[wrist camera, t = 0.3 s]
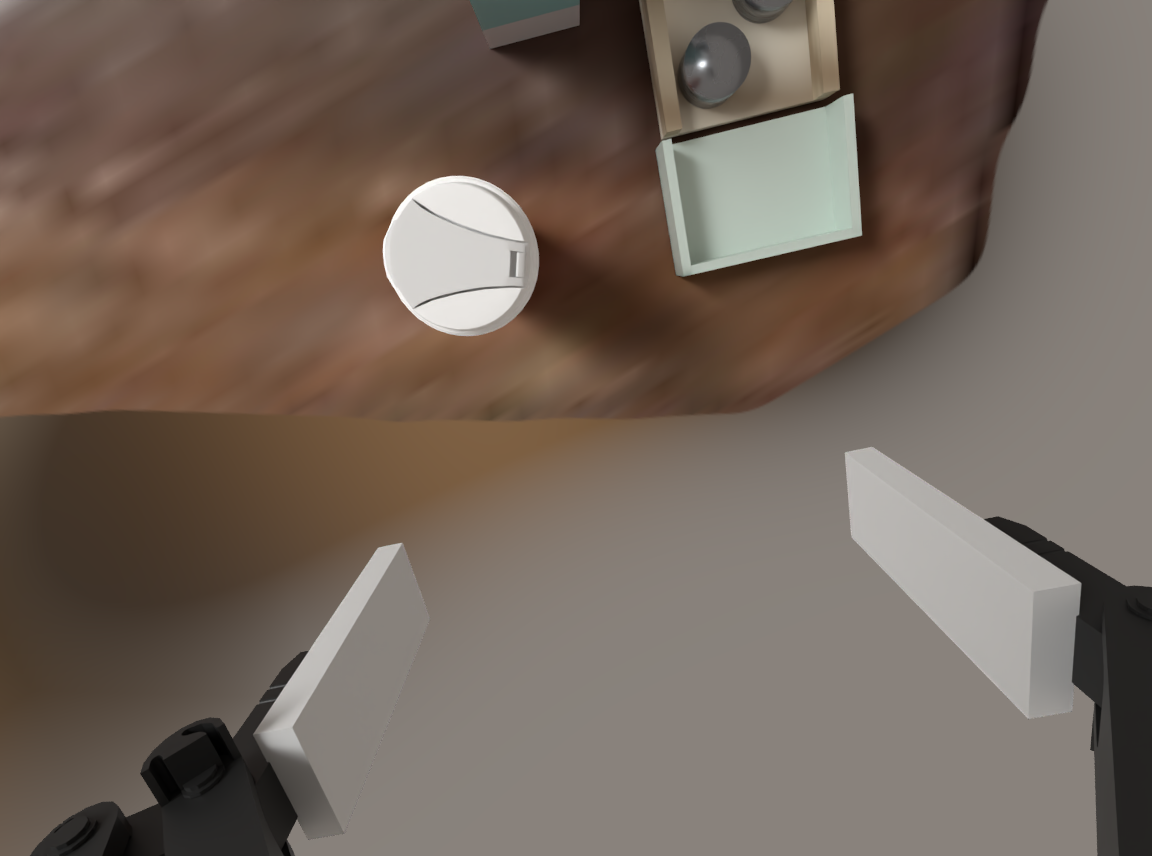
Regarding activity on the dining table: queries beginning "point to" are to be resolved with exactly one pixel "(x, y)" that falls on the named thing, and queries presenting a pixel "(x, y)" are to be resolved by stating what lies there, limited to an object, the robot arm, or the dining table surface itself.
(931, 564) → the robot arm
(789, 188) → the tray
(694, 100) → the chip
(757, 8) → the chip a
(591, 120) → the dining table surface
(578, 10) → the teal tall block
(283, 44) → the dining table surface
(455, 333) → the paper cup
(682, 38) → the slot board
